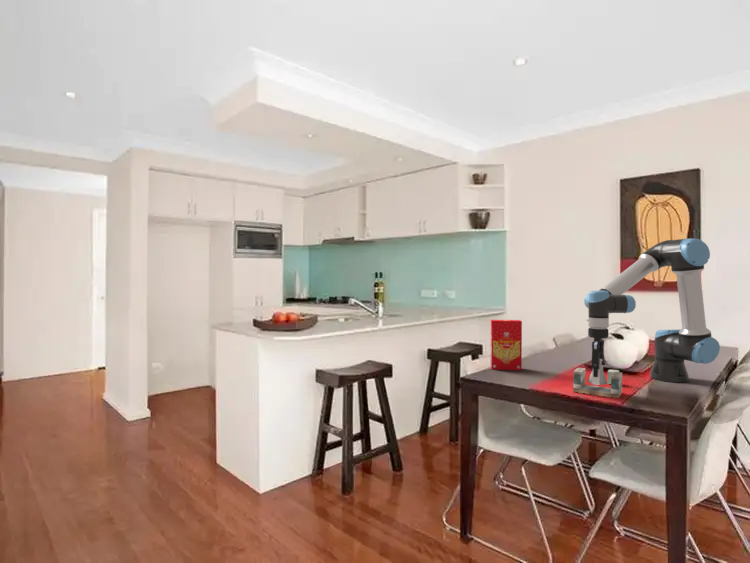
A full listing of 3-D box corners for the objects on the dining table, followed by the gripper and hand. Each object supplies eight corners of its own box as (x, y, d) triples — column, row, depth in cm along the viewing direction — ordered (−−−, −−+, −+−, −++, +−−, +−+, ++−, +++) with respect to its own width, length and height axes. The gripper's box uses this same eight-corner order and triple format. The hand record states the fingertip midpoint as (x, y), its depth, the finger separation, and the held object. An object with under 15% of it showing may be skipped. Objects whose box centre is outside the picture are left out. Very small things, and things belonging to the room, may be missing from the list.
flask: (584, 381, 191) (584, 357, 191) (601, 381, 192) (601, 357, 192) (594, 385, 184) (594, 361, 184) (611, 385, 185) (611, 360, 184)
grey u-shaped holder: (622, 393, 187) (622, 372, 187) (619, 398, 179) (619, 377, 179) (577, 386, 197) (578, 367, 197) (573, 392, 189) (573, 371, 189)
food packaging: (491, 369, 232) (491, 320, 231) (490, 367, 237) (490, 319, 237) (521, 370, 230) (521, 321, 229) (519, 368, 235) (520, 320, 234)
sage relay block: (619, 383, 203) (619, 370, 202) (617, 386, 199) (617, 372, 198) (609, 382, 205) (609, 369, 205) (607, 384, 201) (607, 371, 201)
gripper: (592, 324, 198) (592, 376, 199) (583, 329, 181) (583, 386, 182) (611, 325, 194) (611, 378, 194) (604, 331, 177) (603, 389, 177)
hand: (597, 382), depth 188 cm, fingers closed on flask, 8 cm apart
